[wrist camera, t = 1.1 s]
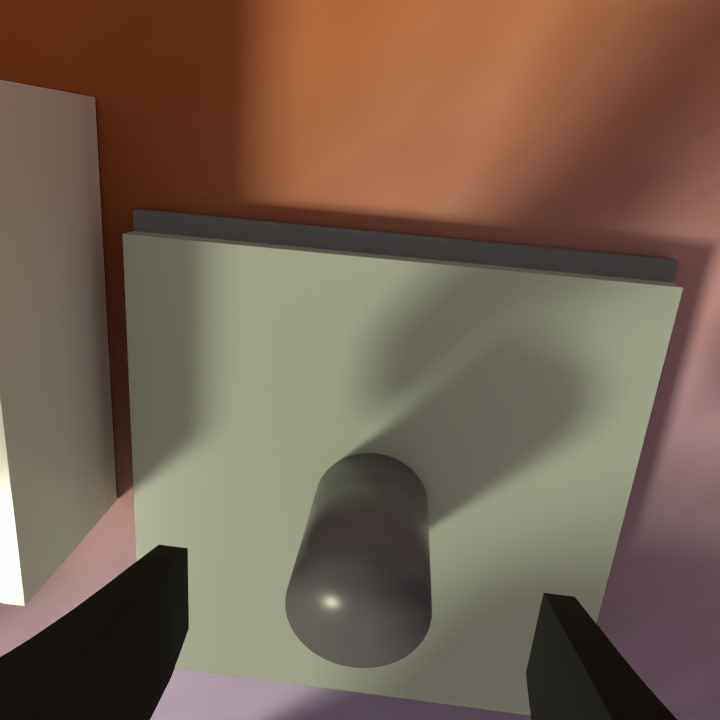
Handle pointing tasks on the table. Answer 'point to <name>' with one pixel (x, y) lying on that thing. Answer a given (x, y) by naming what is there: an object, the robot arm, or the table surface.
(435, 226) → the table surface
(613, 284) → the lid
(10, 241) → the dish
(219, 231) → the mat
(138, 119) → the table surface
